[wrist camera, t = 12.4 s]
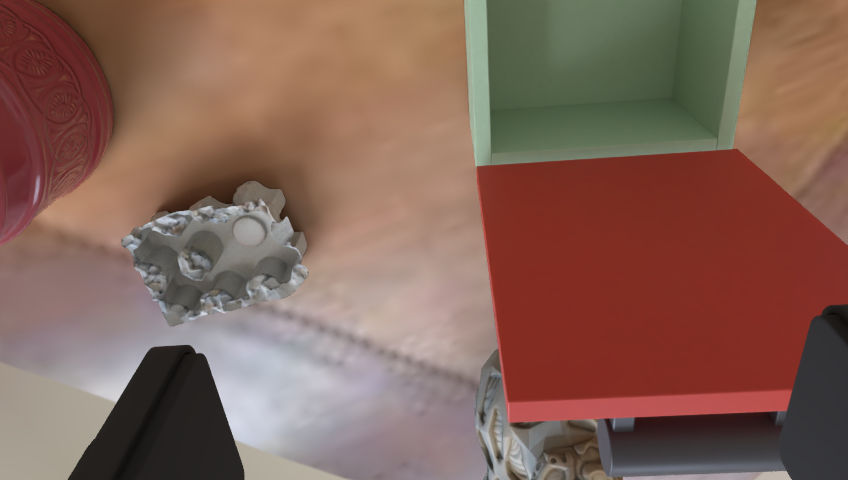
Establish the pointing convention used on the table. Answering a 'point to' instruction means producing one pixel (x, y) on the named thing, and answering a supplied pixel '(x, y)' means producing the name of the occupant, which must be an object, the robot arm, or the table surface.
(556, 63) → the storage box
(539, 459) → the teapot
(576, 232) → the lid
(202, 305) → the egg carton
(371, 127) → the table surface
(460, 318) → the table surface
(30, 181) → the kitchen canister
